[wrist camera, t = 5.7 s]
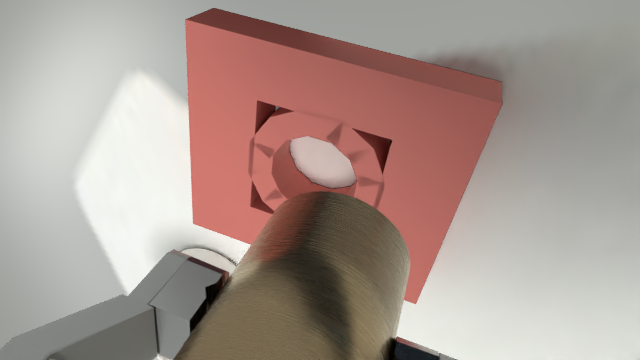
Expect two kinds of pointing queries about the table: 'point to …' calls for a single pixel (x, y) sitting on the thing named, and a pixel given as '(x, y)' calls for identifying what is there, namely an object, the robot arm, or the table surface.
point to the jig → (328, 128)
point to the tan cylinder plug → (310, 287)
